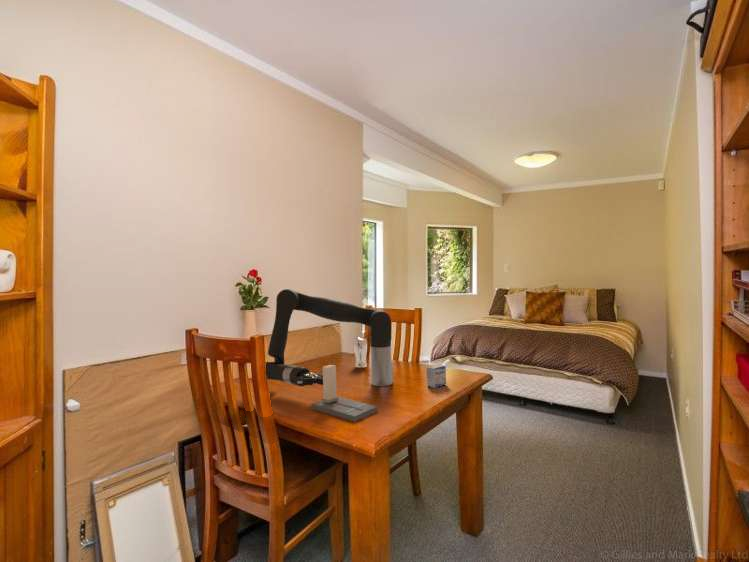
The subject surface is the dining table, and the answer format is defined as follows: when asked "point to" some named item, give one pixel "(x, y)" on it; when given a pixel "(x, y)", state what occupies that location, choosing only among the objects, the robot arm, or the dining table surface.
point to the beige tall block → (329, 384)
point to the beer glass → (360, 352)
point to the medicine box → (436, 376)
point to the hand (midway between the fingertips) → (325, 382)
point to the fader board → (345, 409)
